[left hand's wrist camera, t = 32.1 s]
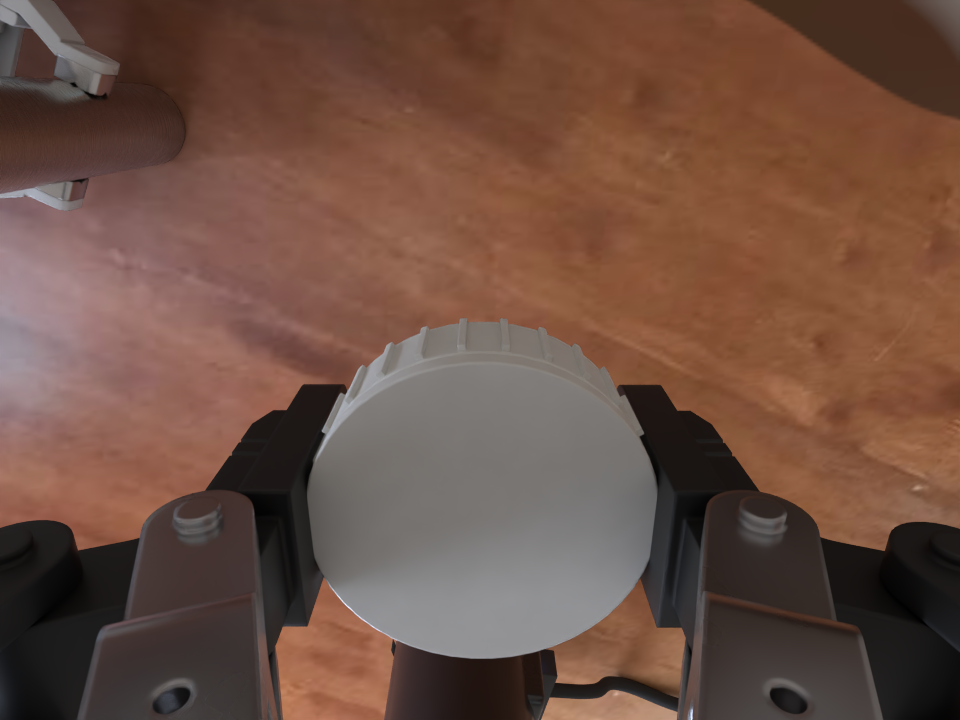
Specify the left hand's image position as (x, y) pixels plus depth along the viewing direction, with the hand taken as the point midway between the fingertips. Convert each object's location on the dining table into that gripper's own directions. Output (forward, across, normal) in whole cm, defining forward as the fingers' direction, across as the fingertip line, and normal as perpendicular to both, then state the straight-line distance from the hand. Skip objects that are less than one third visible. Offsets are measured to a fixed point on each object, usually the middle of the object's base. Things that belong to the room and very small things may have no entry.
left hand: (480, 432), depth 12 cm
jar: (+27, +18, -4) cm, 33 cm away
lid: (-3, 0, 0) cm, 3 cm away
